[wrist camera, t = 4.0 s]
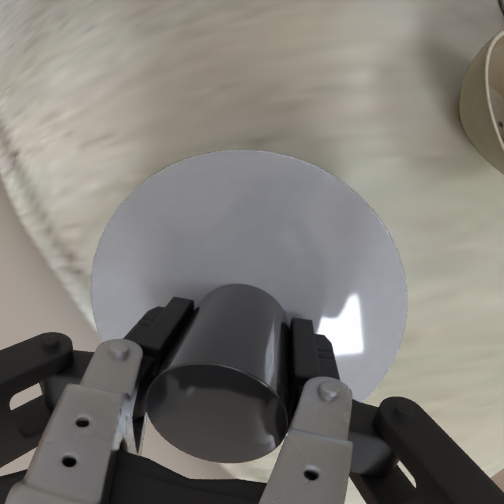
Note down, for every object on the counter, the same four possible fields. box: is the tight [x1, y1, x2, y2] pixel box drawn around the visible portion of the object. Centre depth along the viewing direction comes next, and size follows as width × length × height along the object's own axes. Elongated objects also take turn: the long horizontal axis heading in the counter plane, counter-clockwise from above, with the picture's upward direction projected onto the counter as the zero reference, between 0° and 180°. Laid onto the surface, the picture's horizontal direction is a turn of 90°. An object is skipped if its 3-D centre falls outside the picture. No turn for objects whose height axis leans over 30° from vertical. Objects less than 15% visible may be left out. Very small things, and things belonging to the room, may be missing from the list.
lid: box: [91, 149, 407, 463], centre depth 10 cm, size 13×13×6 cm
